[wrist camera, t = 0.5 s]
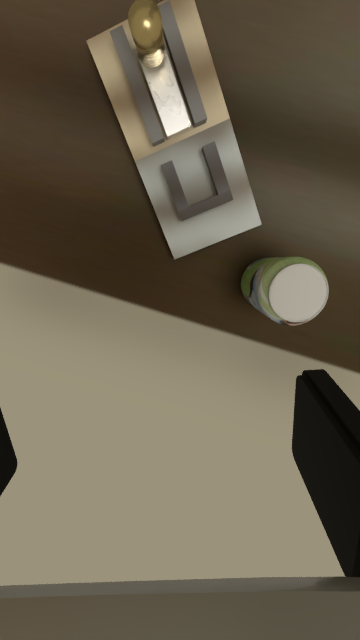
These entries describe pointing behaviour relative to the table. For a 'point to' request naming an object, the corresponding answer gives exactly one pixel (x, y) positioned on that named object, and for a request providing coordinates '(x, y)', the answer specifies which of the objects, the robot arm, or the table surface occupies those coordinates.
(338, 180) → the table surface
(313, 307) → the beverage can
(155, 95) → the bolt
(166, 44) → the lock board
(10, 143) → the table surface
